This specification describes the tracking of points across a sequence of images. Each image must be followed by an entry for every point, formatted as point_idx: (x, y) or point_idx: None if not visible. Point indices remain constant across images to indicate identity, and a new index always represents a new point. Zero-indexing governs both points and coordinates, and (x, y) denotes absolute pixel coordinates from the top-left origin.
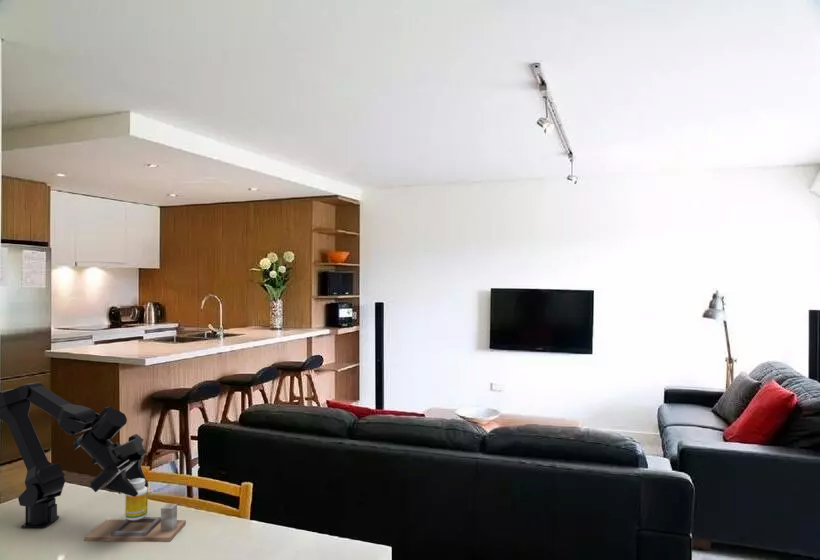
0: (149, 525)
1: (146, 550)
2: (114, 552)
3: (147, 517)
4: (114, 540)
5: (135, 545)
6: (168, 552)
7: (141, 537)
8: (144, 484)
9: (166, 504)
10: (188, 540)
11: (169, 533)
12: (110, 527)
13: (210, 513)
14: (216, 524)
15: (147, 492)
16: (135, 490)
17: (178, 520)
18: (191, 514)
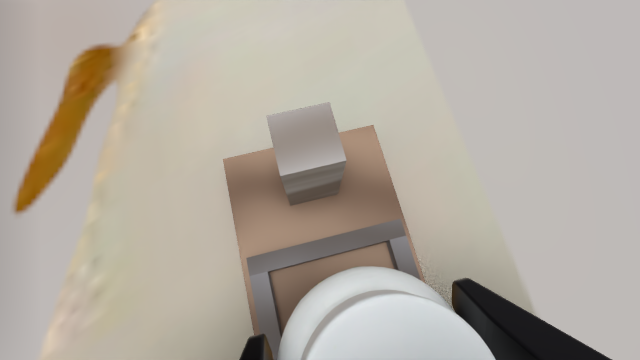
0: (337, 252)
1: (452, 168)
2: (511, 275)
3: (263, 328)
4: None
5: (438, 235)
6: (434, 90)
7: (408, 233)
8: (363, 293)
9: (289, 165)
10: (344, 79)
11: (344, 148)
12: None
13: (120, 128)
14: (211, 58)
15: (328, 277)
16: (487, 302)
17: (231, 186)
18: (137, 196)
